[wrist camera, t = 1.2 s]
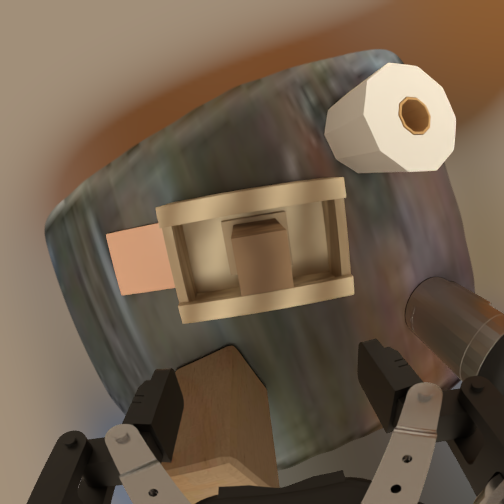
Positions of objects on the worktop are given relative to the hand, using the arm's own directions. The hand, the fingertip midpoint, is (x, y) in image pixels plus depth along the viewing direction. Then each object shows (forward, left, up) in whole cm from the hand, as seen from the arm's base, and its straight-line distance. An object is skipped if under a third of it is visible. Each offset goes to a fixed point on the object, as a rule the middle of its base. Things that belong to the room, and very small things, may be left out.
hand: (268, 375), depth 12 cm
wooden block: (+7, +18, -24) cm, 31 cm away
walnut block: (-1, -1, -22) cm, 22 cm away
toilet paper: (-16, -12, -24) cm, 31 cm away
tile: (+13, -1, -24) cm, 27 cm away
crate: (-1, -1, -24) cm, 24 cm away
